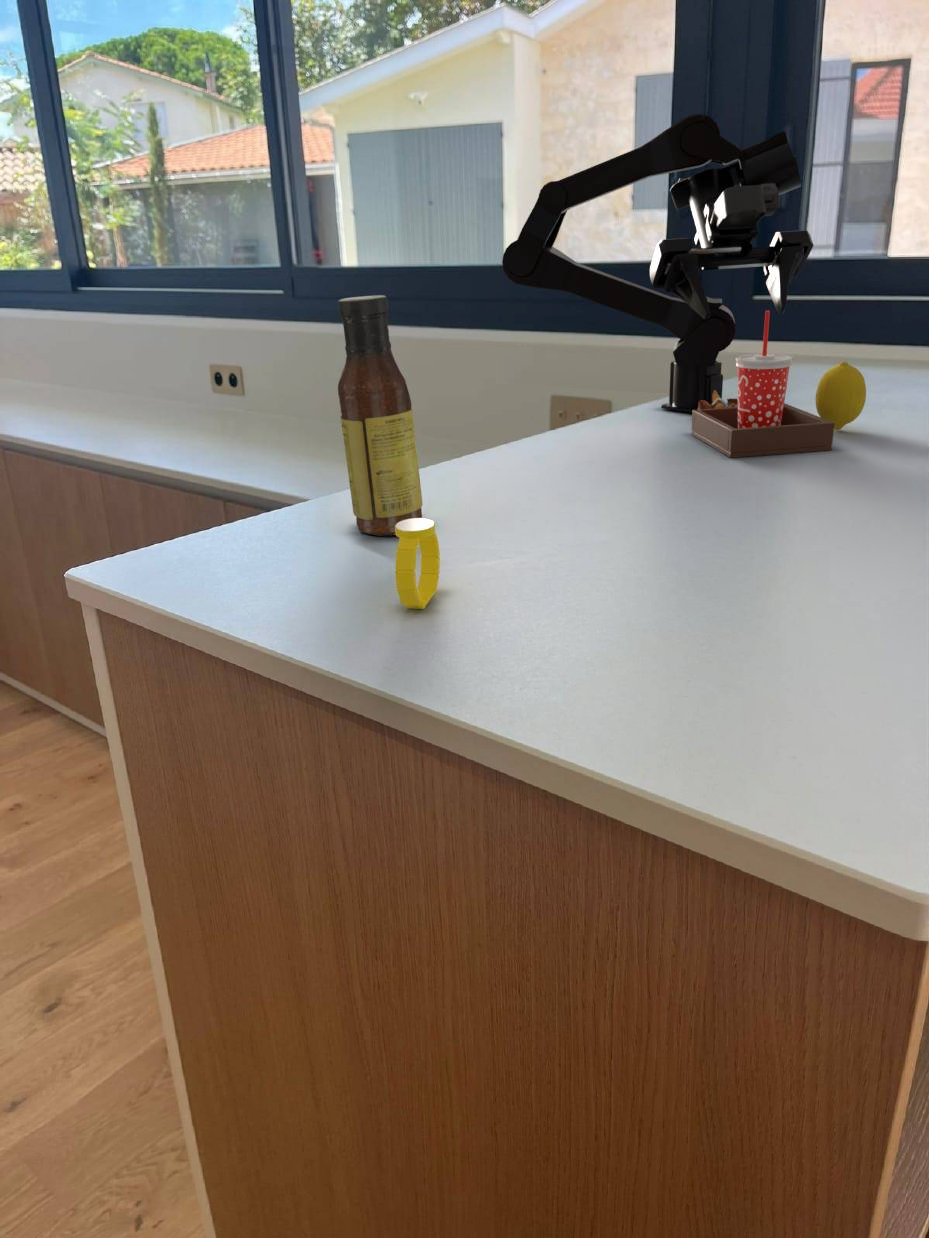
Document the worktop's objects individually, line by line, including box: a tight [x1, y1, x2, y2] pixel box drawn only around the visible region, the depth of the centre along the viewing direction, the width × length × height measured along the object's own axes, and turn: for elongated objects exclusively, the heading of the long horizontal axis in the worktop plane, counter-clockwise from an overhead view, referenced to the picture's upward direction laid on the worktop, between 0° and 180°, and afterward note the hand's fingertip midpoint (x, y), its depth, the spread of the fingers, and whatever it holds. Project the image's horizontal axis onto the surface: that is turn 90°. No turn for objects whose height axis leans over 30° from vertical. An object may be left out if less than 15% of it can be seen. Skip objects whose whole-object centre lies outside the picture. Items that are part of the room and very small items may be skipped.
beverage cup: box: [735, 310, 794, 429], centre depth 107 cm, size 6×6×14 cm
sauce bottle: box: [337, 295, 423, 537], centre depth 82 cm, size 6×6×20 cm
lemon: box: [815, 361, 867, 431], centre depth 112 cm, size 6×6×8 cm
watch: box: [394, 517, 441, 610], centre depth 67 cm, size 6×3×6 cm, turn 165°
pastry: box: [698, 390, 738, 410], centre depth 122 cm, size 7×12×4 cm, turn 152°
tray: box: [691, 402, 835, 459], centre depth 109 cm, size 13×12×3 cm
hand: (745, 314), depth 112 cm, fingers open, 9 cm apart
